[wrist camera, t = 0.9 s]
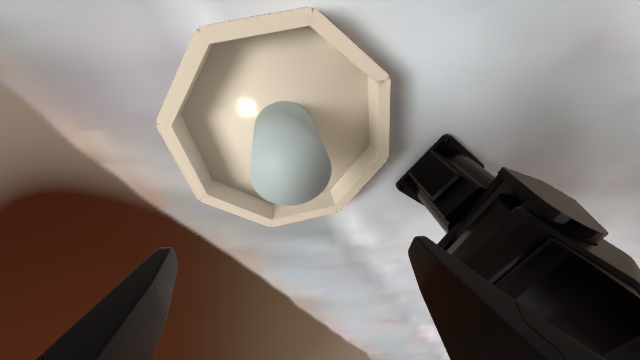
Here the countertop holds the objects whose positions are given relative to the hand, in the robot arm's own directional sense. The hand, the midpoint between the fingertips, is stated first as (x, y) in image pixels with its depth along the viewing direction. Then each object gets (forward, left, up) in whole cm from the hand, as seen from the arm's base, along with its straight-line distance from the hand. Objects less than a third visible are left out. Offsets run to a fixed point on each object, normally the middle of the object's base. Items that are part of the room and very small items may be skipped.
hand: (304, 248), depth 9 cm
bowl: (0, 0, -12) cm, 12 cm away
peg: (0, 0, -11) cm, 11 cm away
